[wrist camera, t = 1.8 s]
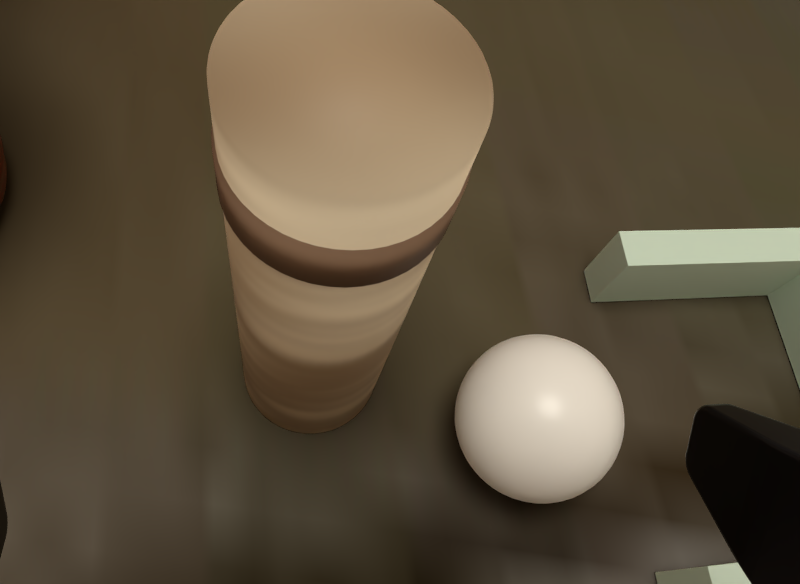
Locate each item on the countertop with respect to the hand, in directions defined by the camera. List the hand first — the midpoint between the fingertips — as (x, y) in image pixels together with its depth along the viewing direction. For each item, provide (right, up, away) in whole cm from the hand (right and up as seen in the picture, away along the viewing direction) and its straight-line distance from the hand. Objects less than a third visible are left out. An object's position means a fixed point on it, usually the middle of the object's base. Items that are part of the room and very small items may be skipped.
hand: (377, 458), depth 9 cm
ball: (+4, -1, +11) cm, 11 cm away
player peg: (-2, 0, +12) cm, 13 cm away
